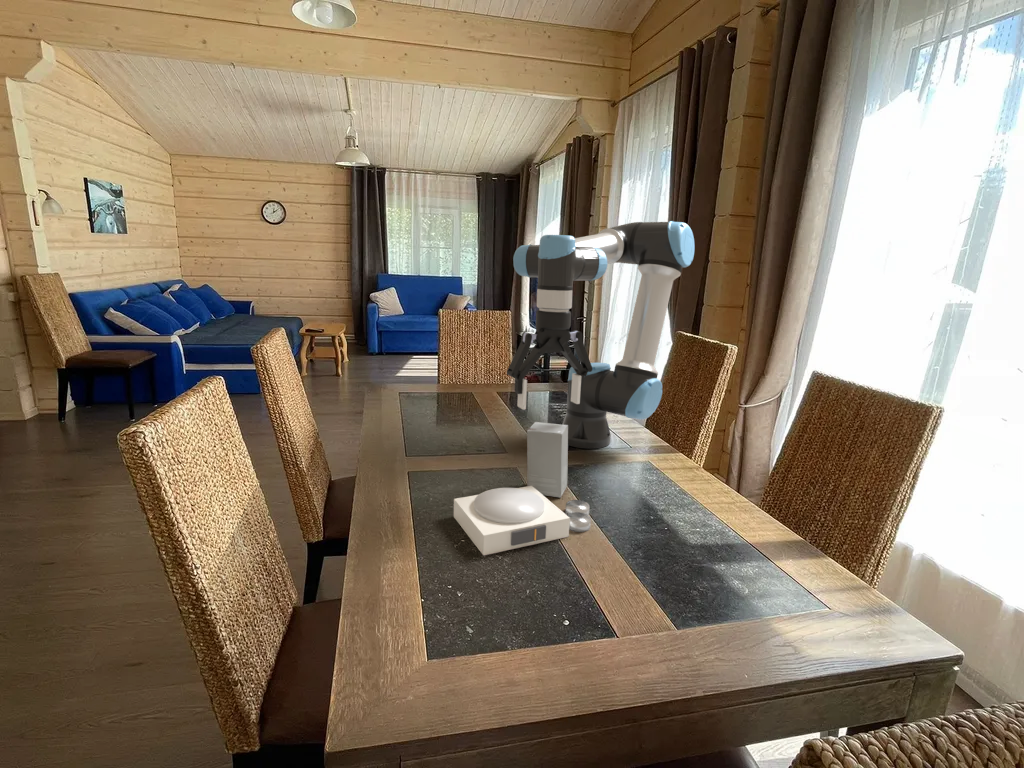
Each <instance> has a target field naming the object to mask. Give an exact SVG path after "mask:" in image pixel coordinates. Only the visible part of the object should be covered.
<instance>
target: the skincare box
mask: <svg viewBox="0 0 1024 768" xmlns="http://www.w3.org/2000/svg"><path fill="white" fill-rule="evenodd" d="M526 438H527V439H526V443H527V445H526V446H527V452H526V456H527V460H526V461H527V463H526V465H527V466H526V469H527V475H526V476H527V477H526V478H527V486H533V487H534V488H535V489H536V490H537V491H539V492H540V493H541V494H542V495H543V496H545V497H546V496H548V497H554V498H562V496H563V495H564V493H565V491H566V489H567V487H568V470H569V469H568V467H569V466H568V464H569V463H568V462H569V461H568V460H569V459H568V455H569V453H568V452H569V451H568V450H569V445H568V425H562V424H561V423H560V424H558V423H550V422H542V421H541V422H538V421H535V422H533V424H532V425H531V426H529V428H528V429H527V431H526ZM527 486H526V487H527Z"/></svg>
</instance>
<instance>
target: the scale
mask: <svg viewBox="0 0 1024 768" xmlns="http://www.w3.org/2000/svg"><path fill="white" fill-rule="evenodd" d="M453 518H454V519H455V521H456V522H457V523H458V525H460V526H461V528H462V529H463V531H464V532H465V534H466V535H467V536H468V537H469V540H471V542H472V543H473V544H474V545H475V547H477V549H478V550H479V551H480V554H482V556H488V555H492V554H496V553H501V552H506V551H509V550H514V549H519V548H523V547H528V546H533V545H537V544H541V543H542V544H543V543H546V542H550V541H551V542H552V541H554V540H559V539H563V538H564V539H565V538H568V537H570V530H569V524H570V518H569V517H568V516H567V514H566V512H564V511H563V510H561V509H560V508H559V507H558V506H556V505H555V504H554V503H553V502H552V501H550V499H548V498H547V497H546V495H542V494H541V493H540V492H539V491H537V490H536V489H535V488H534V487H533V486H522V487H498V488H492V489H488V490H485V491H482V492H481V493H479V494H475V495H469V496H463V497H456V498H453Z"/></svg>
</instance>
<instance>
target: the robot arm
mask: <svg viewBox="0 0 1024 768" xmlns="http://www.w3.org/2000/svg"><path fill="white" fill-rule="evenodd" d="M539 239H540V240H539V244H527V245H526V244H524V245H519V247H517V248H516V250H515V252H514V254H513V258H512V259H513V260H512V261H513V268H514V270H515V271H514V272H516V274H518V275H519V276H521V277H527V278H530V279H531V278H537V287H536V288H537V289H536V290H537V291H536V307H537V308H538V309H537V310H536V312H535V331H534V333H529V332H526V331H523V332H522V334H521V339H520V343H519V345H518V348H517V350H516V352H515V354H514V356H513V358H512V360H511V362H510V363H509V366H508V368H507V370H506V375H508V377H509V376H510V377H511V378H514V393H516V395H517V402H516V403H517V405H516V406H517V407H518V408H519V409H521V410H527V392H528V390H527V389H528V388H527V387H528V379H526V376H527V375H528V374H529V372H530V371H531V370H532V368H533V367H534V366H535V364H536V363H537V362H538V361H539V359H540V358H541V357H542V356H544V355H545V354H552V353H556V354H562V355H563V357H564V358H565V360H566V361H568V363H569V365H570V366H571V367H570V368H569V371H568V379H567V398H566V414H565V416H564V418H563V421H562V424H561V425H568V447H569V446H570V447H574V448H580V449H590V450H591V449H593V450H594V449H601V448H604V447H607V446H609V445H610V443H611V438H612V436H611V432H610V428H609V427H610V426H609V423H608V420H607V419H608V418H607V413H610V414H614V415H618V416H622V417H625V418H628V419H636V420H641V421H642V420H645V419H648V418H649V417H651V416H652V415H653V413H655V411H656V410H657V408H658V407H659V405H660V402H661V400H662V395H663V383H662V381H661V380H660V379H658V375H659V372H658V371H657V369H656V368H655V362H656V359H657V353H658V349H659V344H660V340H661V337H662V333H663V332H662V331H663V327H664V324H665V319H666V315H667V309H668V305H669V300H670V298H671V292H672V289H673V284H674V281H675V280H676V279H677V278H679V277H681V274H682V270H683V268H687V267H689V266H690V265H691V264H692V263H693V260H694V256H695V238H694V233H693V230H692V229H691V227H690V226H689V225H688V224H687V223H686V222H684V221H683V222H682V221H674V220H670V221H643V222H642V221H636V222H629V223H624V224H620V225H617V226H616V225H615V226H613V227H612V226H611V227H609V228H603V229H601V230H600V231H599V232H598V233H595V234H591V235H586V236H580V237H574V236H573V235H565V234H545V235H542V236H541V237H540V238H539ZM618 263H619V264H627V265H628V264H630V265H637V269H638V271H639V272H640V274H641V277H640V282H639V286H638V291H637V294H636V299H635V303H634V307H633V312H632V316H631V321H630V324H629V325H630V326H629V329H628V334H627V339H626V343H625V345H624V346H625V347H624V352H623V355H622V359H621V360H620V361H618V362H617V363H615V366H614V370H611V365H610V364H609V363H607V362H591V361H590V358H589V356H588V355H589V354H588V352H587V350H586V347H585V344H584V342H583V341H584V340H583V332H582V331H578V330H575V329H574V330H572V331H570V328H571V325H572V312H571V311H570V309H572V308H573V288H574V286H573V284H574V281H576V282H577V281H580V282H581V281H583V282H584V281H585V282H591V281H596V280H598V279H600V278H601V277H603V276H604V275H605V273H606V271H607V268H608V264H609V265H610V264H618ZM534 341H535V345H533V347H532V349H531V352H530V353H529V354H528V352H529V350H530V347H531V345H532V344H533V343H534ZM569 341H572V344H573V347H574V349H575V352H576V355H577V357H576V356H575V354H574V353H573V352H572V349H571V347H570V346H569V345H568V343H569ZM526 356H527V357H526ZM577 358H578V359H577Z"/></svg>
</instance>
